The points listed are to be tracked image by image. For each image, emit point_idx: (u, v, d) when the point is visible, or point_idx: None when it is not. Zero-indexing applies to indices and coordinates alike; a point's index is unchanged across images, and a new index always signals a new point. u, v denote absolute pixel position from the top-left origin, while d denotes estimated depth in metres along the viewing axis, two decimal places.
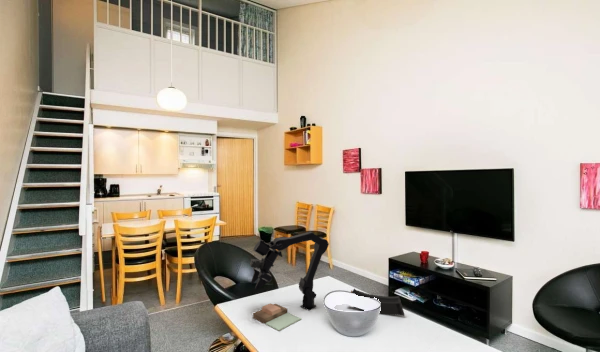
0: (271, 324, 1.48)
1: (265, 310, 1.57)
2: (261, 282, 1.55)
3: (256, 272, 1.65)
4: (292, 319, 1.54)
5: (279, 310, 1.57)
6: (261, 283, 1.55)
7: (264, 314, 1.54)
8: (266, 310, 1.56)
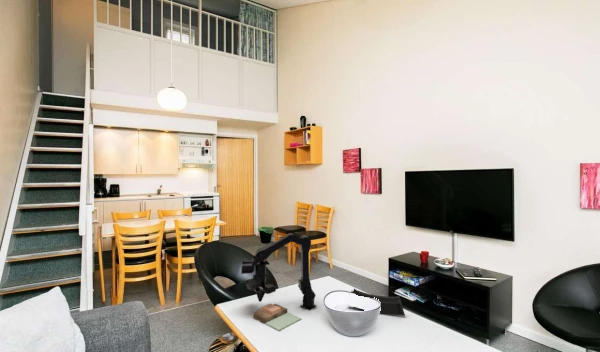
0: (271, 324, 1.48)
1: (265, 310, 1.57)
2: (262, 293, 1.64)
3: None
4: (292, 319, 1.54)
5: (279, 310, 1.57)
6: (262, 294, 1.64)
7: (264, 314, 1.54)
8: (266, 310, 1.56)
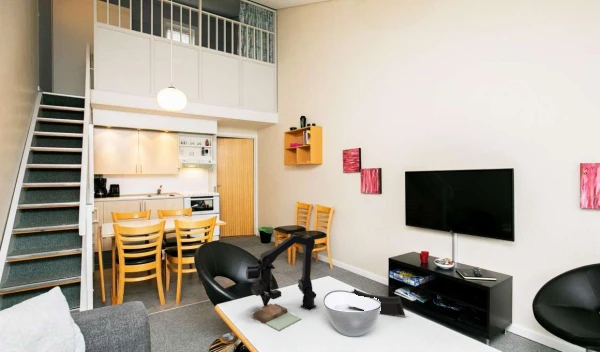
0: (271, 324, 1.48)
1: (265, 310, 1.57)
2: (267, 298, 1.61)
3: None
4: (292, 319, 1.54)
5: (279, 310, 1.57)
6: (268, 299, 1.61)
7: (264, 314, 1.54)
8: (266, 310, 1.56)
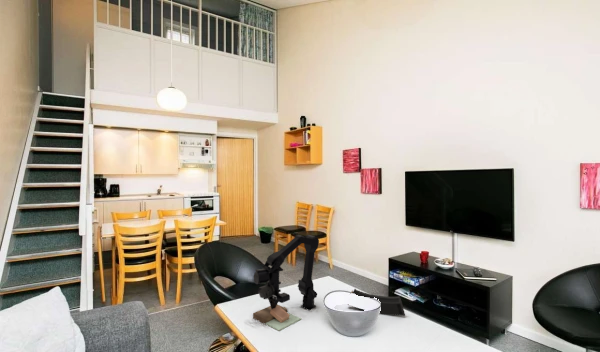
0: (271, 324, 1.48)
1: (274, 314, 1.53)
2: (275, 301, 1.57)
3: None
4: (292, 319, 1.54)
5: (288, 317, 1.54)
6: (276, 302, 1.57)
7: (264, 314, 1.54)
8: (275, 315, 1.52)
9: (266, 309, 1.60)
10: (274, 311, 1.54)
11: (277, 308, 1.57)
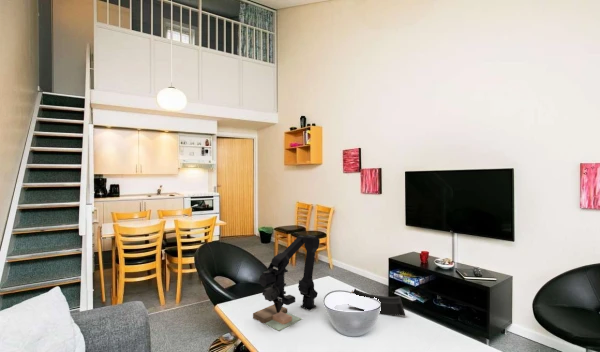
0: (271, 324, 1.48)
1: (276, 319, 1.52)
2: (280, 303, 1.54)
3: (276, 300, 1.55)
4: (292, 319, 1.54)
5: (290, 319, 1.52)
6: (281, 304, 1.54)
7: (264, 314, 1.54)
8: (277, 319, 1.51)
9: (266, 309, 1.60)
10: (276, 316, 1.53)
11: (279, 313, 1.56)
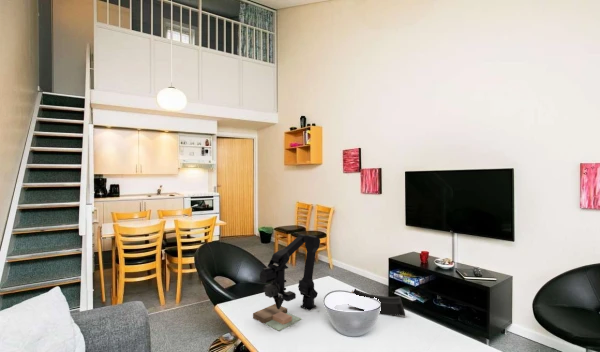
0: (271, 324, 1.48)
1: (276, 319, 1.52)
2: (281, 300, 1.54)
3: (276, 297, 1.54)
4: (292, 319, 1.54)
5: (290, 319, 1.52)
6: (281, 301, 1.54)
7: (264, 314, 1.54)
8: (277, 319, 1.51)
9: (266, 309, 1.60)
10: (276, 316, 1.53)
11: (279, 313, 1.56)
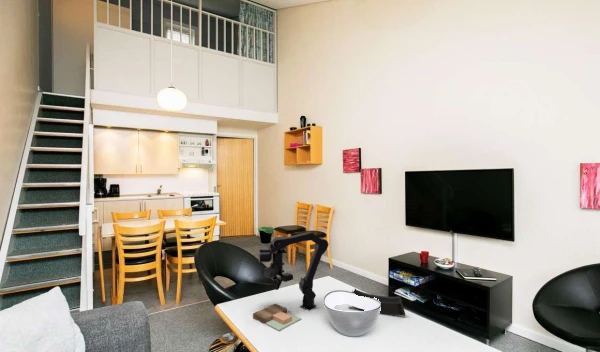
0: (271, 324, 1.48)
1: (276, 319, 1.52)
2: (279, 281, 1.65)
3: None
4: (292, 319, 1.54)
5: (290, 319, 1.52)
6: (279, 282, 1.65)
7: (264, 314, 1.54)
8: (277, 319, 1.51)
9: (266, 309, 1.60)
10: (276, 316, 1.53)
11: (279, 313, 1.56)
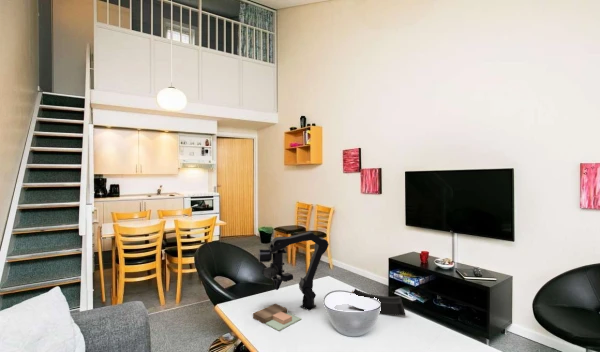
0: (271, 324, 1.48)
1: (276, 319, 1.52)
2: (279, 281, 1.65)
3: None
4: (292, 319, 1.54)
5: (290, 319, 1.52)
6: (279, 282, 1.65)
7: (264, 314, 1.54)
8: (277, 319, 1.51)
9: (266, 309, 1.60)
10: (276, 316, 1.53)
11: (279, 313, 1.56)
